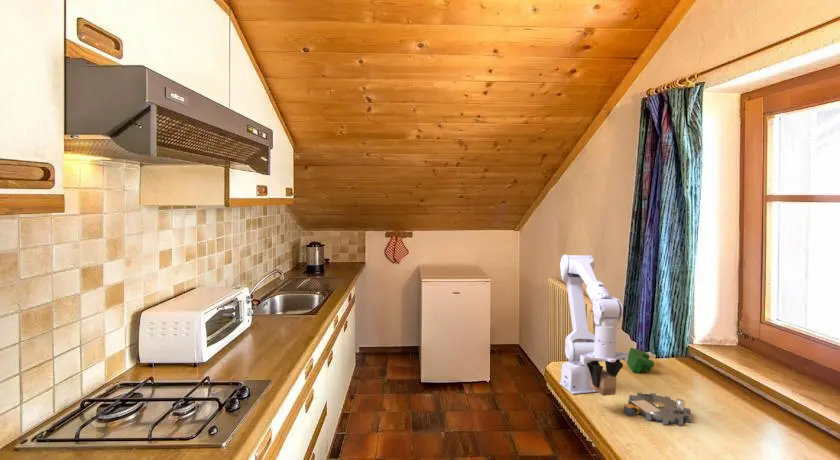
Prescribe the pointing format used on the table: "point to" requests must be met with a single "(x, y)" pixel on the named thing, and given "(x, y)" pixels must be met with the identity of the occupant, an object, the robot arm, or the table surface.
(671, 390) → the table surface
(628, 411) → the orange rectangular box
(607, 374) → the link block
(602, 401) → the table surface
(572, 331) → the robot arm
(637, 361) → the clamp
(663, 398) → the sprocket disc
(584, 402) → the table surface
